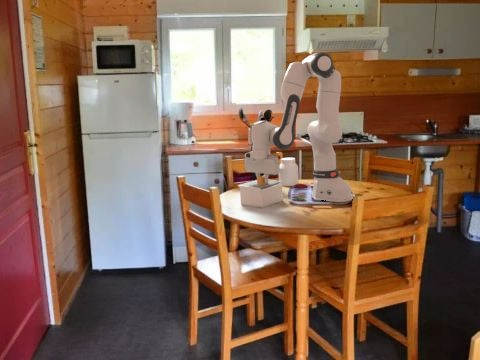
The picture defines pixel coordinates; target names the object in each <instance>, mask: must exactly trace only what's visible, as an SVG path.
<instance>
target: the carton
mask: <svg viewBox="0 0 480 360" xmlns="http://www.w3.org/2000/svg"><path fill="white" fill-rule="evenodd" d="M268 181H275V182H279V183H278V184H275V185H272V186H268V187H265V188H262V189H261V188H257V187H250V186H243V185H240V184H237V185H238V186H237V187H238V188H239V192H240V193H239V194H240V195H239V196H240V205H241V204H242V206H248V207H253V208H259V209H264V208H266V207H270V206H272V205H275V204H279V203H281V202H283V197H284V195H283V186H282V184H283V181H279V180H276V179H275V180H274V179H269V178H268ZM281 183H282V184H281Z"/></svg>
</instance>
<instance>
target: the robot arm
mask: <svg viewBox="0 0 480 360" xmlns="http://www.w3.org/2000/svg"><path fill="white" fill-rule="evenodd" d="M310 77H311V78H313V77H314V78H315V77H316V78H317V80H318V89H317V96H316V105H315V107H316V111H317V115H318V116H317V119H315V120H313V121H311V122H310V123H309V124H308V126H307V128H306V130H307V134H308V136H309V139H310V144H311V148H312V153H313V154H312V155H313V170H312V176H313V187H312V193H311V196H312V197H311V198H313V200H314V201H321V200H324V201H325V200H326V201H325V202H333V203H334V202H335V203H345V202H346V203H347V202H350V201H353V200H354V199H353V197H354V196H355V195H356V194H353V193H352V189H351V186H350V184H349V183H347V181H345V180H344V179H343V178H341V176H340V174H341V172H342V171H341V170H338V169H337V154H336V151H335V150H334V147H333V144H334V143H337V142H339V141H340V140H341V139H342V137H343V129H342V126H341V122H340V112H339V110H340V109H339V108H340V101H341V100H340V99H341V92H342V75H341V73H340V72H339V71H338V70H337V69H335V65H334V60H333V58H332V56H331V55H330V54H329V53H327V52H322V51H321V52H313V53H312V54H310V55H309V54H308V55H306V56H305V57H304V58H303V59H302V60H301V61H294V62H292V63H290V64H289V66H288V68H287V69H286V71H285V74H284V77H283V80H282V83H281V87H280V92H279V95H280V98H281V100H282V101H283V104H284V105H283V106H284V111H283V115H282V120H281V124H280V125H279V126H278V125H275V124H272V123H271V122H270V121H267V120H259V121H256V122H254V123H253V124H252V126H251V143H252V145H253V146H252V145H251V146H252V151H251V150H250V151H248V152H246V153H244V158H245V159H244V170H245V172H247V173H252V172H255V173H256V176H257V177H260V173H264V176H265V178H264V179H263V182H268V179H269V177H270V175H275V176H276V175H279V173H280V166H279V165H280V163H279V157H278V156H276V155H275V154H271V146H274V147H275V148H277V149H279V150H283V151H284V150H288V149H290V148H291V147H292V146H293V144H294V142H295V128H296V127H295V126H296V121H297V118H298V114H299V113H298V112H299V110H300V109H299V108H300V104H301V101H302V97H303V93H304V91H305V87H306V84H307V82H308V80H309V78H310ZM267 178H268V179H267ZM352 199H353V200H352ZM324 201H323V202H324Z"/></svg>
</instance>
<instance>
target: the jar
mask: <svg viewBox="0 0 480 360" xmlns="http://www.w3.org/2000/svg"><path fill="white" fill-rule="evenodd" d="M279 166H280V173H279V174H278V181H283V184H282V183H281V184H282V187H293V186H295V185H298V184H300V183H299V182H300V180H299V165H298V164H297V163H296V158H295V157H283V158H281V159H280V163H279Z"/></svg>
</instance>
